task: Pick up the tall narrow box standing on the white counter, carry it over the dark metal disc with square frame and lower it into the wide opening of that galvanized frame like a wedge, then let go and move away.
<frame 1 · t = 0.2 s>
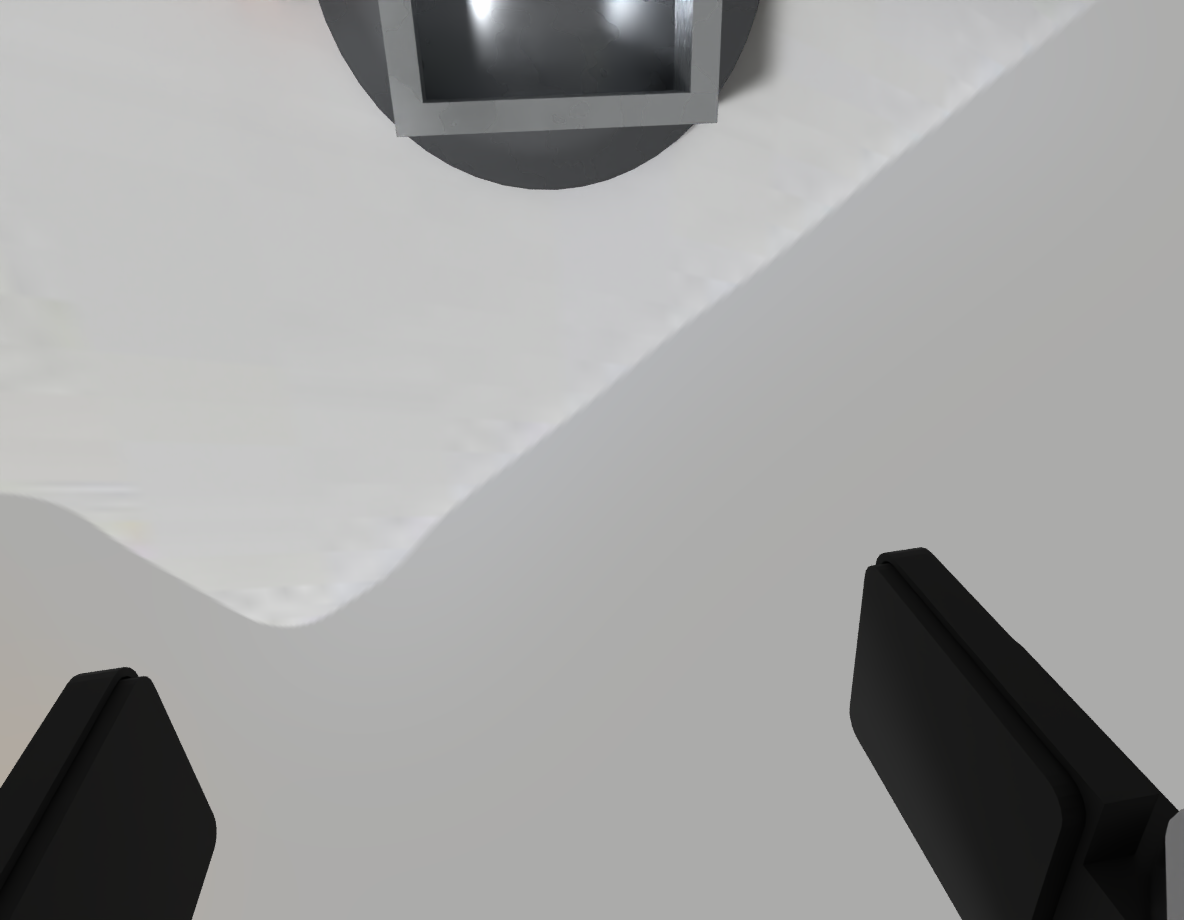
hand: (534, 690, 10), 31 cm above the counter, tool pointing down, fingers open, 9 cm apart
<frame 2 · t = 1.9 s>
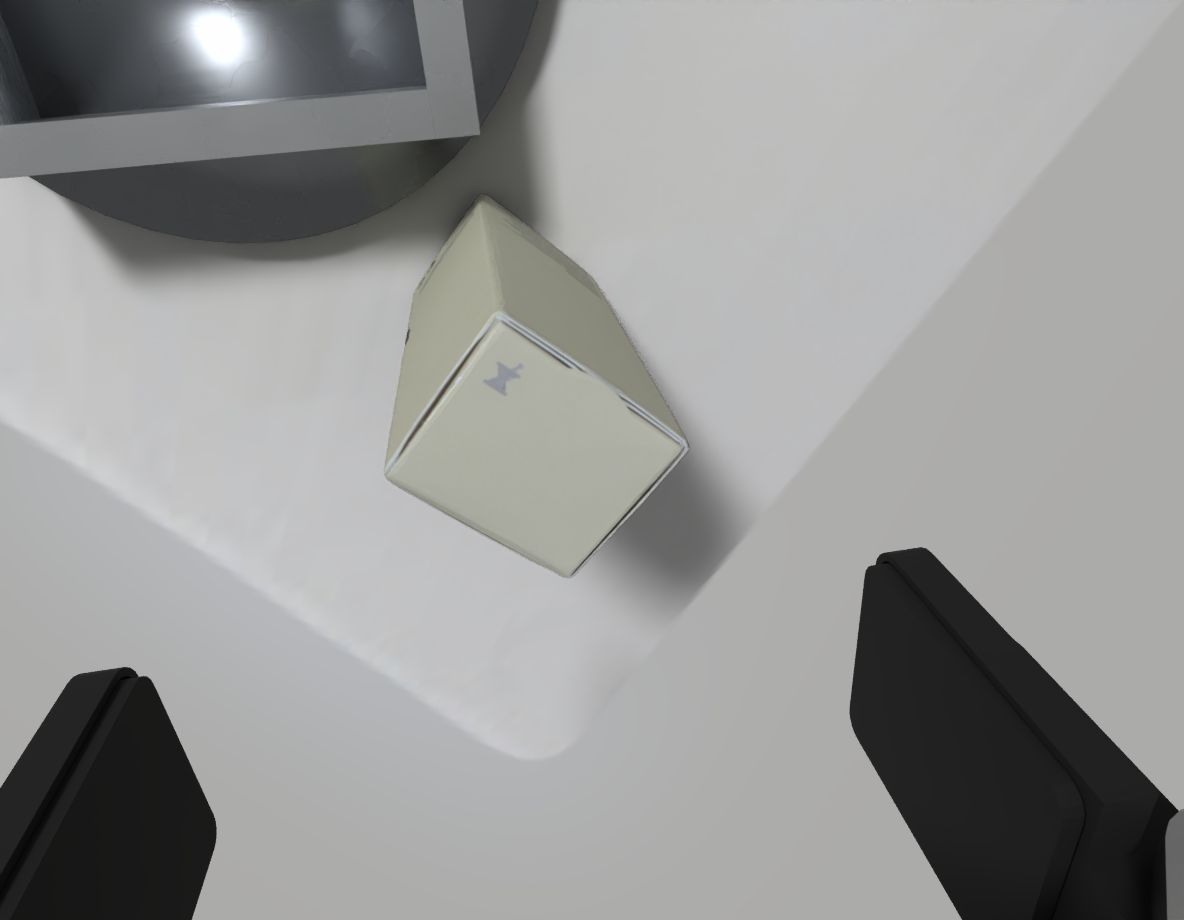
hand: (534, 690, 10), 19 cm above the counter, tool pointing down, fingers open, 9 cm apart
box: (509, 286, 27), on the counter
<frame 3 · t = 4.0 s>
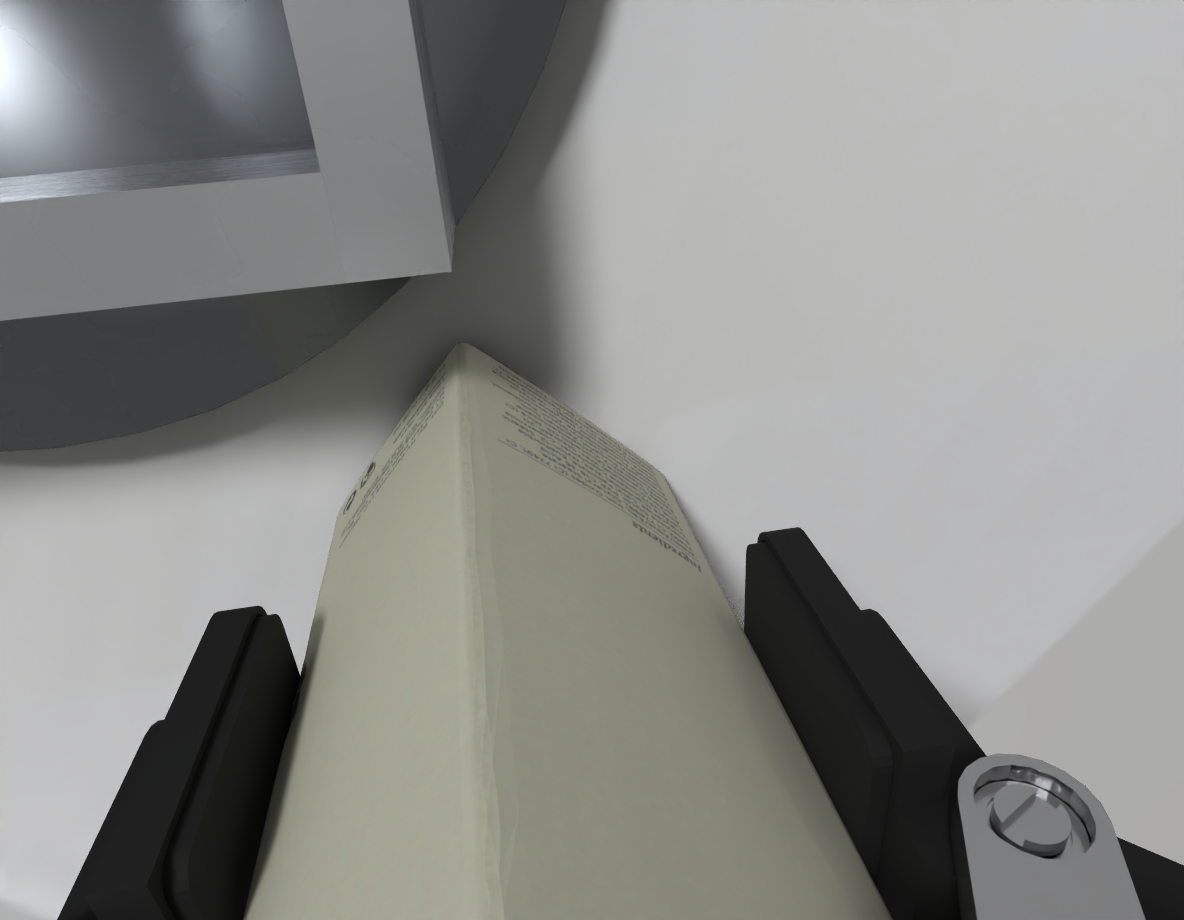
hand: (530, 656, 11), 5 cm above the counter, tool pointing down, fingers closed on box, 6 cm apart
box: (513, 487, 15), on the counter, touching gripper
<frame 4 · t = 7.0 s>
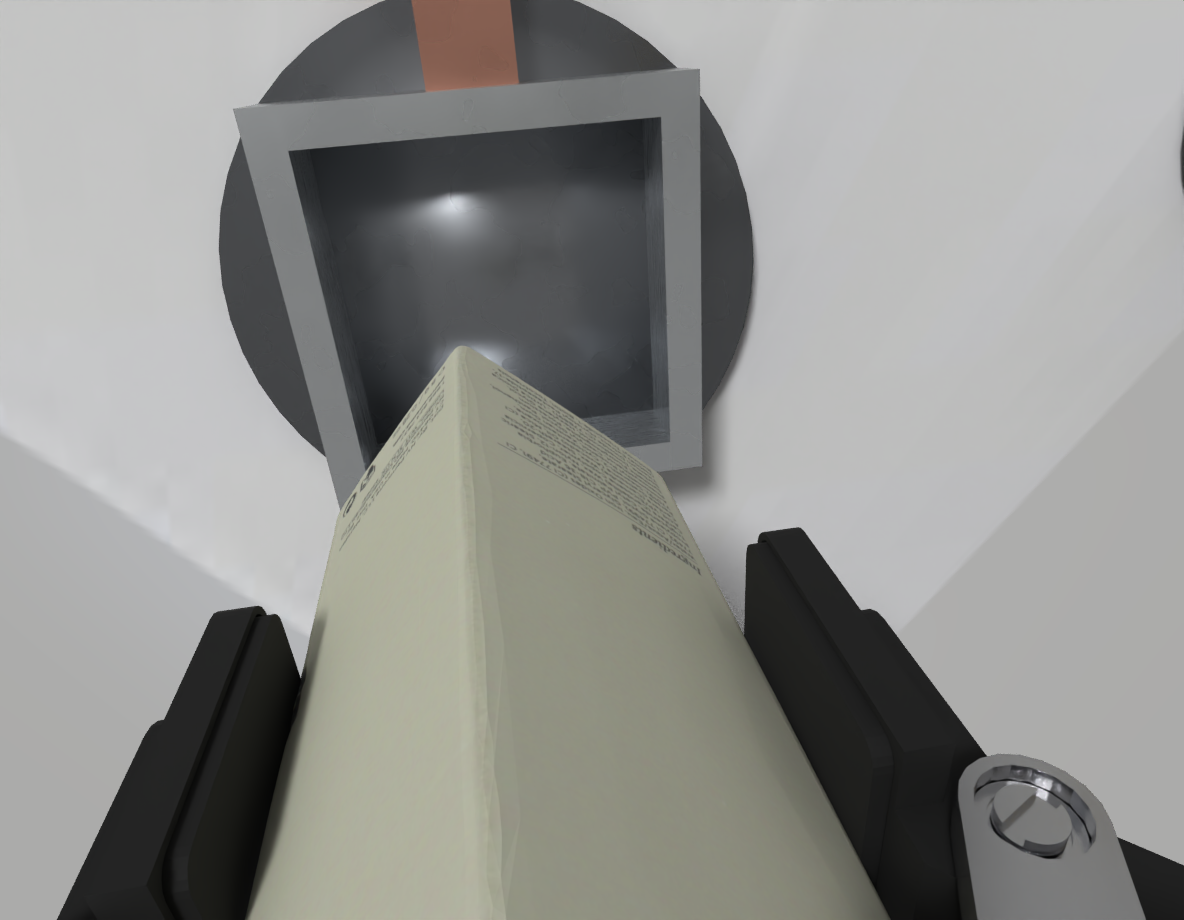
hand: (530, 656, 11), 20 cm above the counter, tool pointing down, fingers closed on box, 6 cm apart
disc with square frame: (498, 283, 29), on the counter
box: (512, 489, 15), point 16 cm above the counter, touching gripper
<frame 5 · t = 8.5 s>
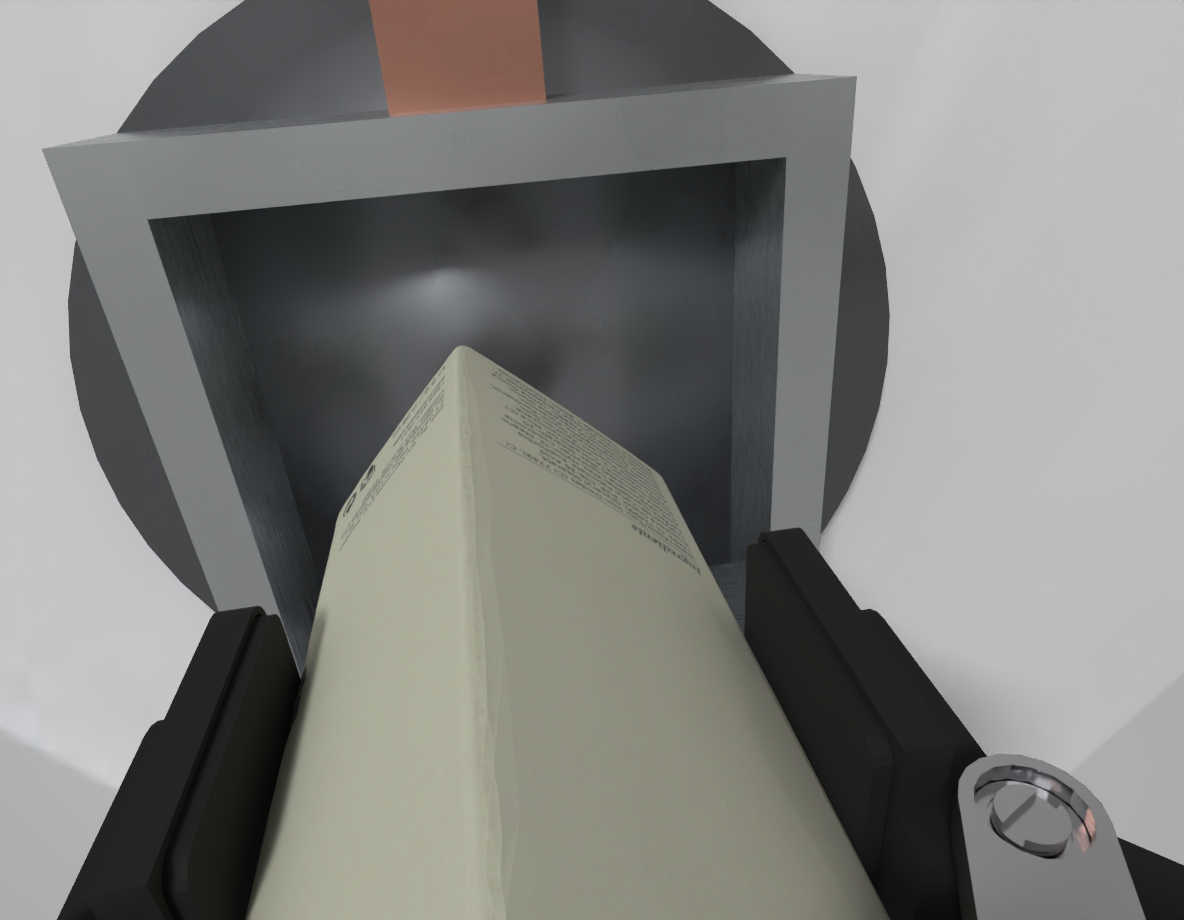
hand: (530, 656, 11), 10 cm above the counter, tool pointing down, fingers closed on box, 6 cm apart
disc with square frame: (508, 392, 19), on the counter
box: (512, 489, 15), point 5 cm above the counter, touching gripper
when the fingers open (7 cm above the counter, at t = 9.9 s): box drops 1 cm, resting on disc with square frame.
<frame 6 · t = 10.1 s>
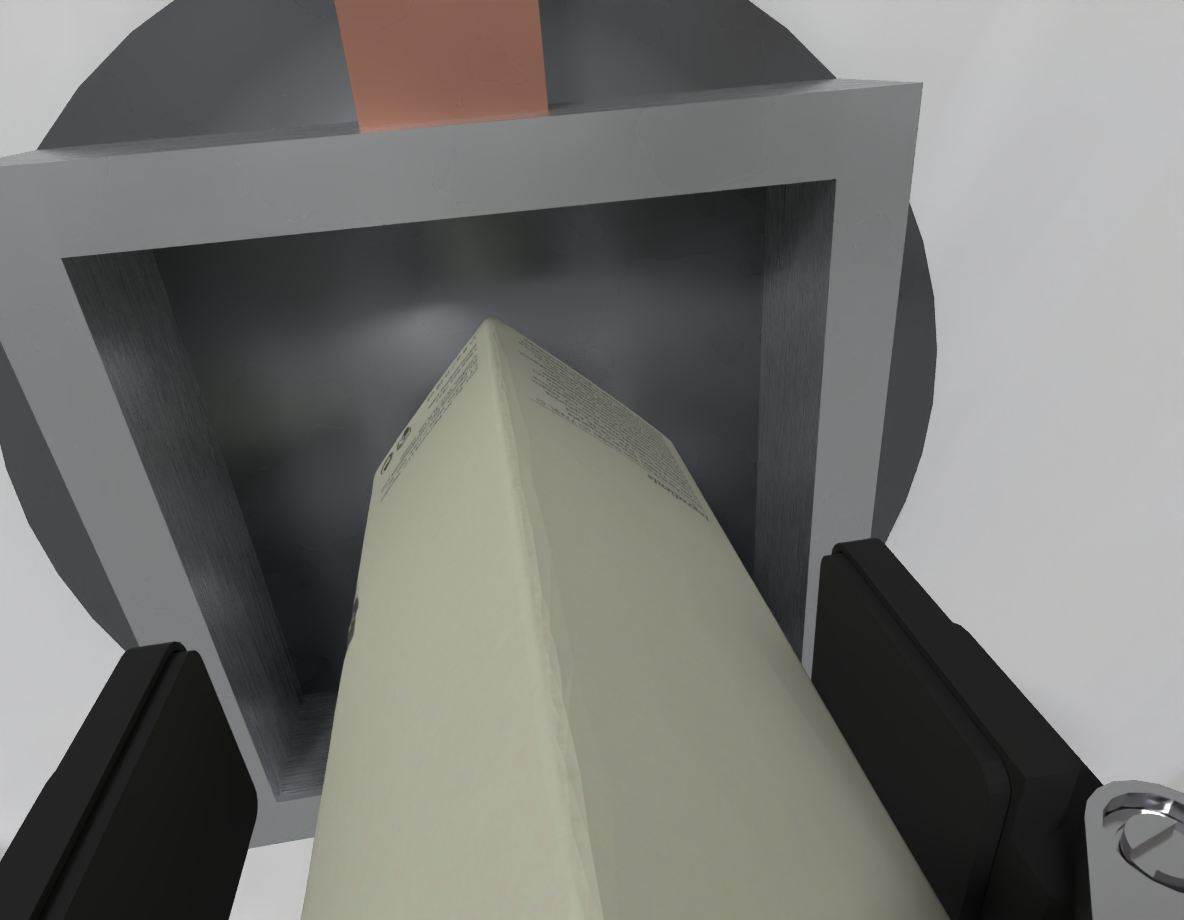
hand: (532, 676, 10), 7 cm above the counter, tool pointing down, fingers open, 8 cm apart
disc with square frame: (503, 439, 17), on the counter
box: (533, 453, 16), point 1 cm above the counter, touching disc with square frame
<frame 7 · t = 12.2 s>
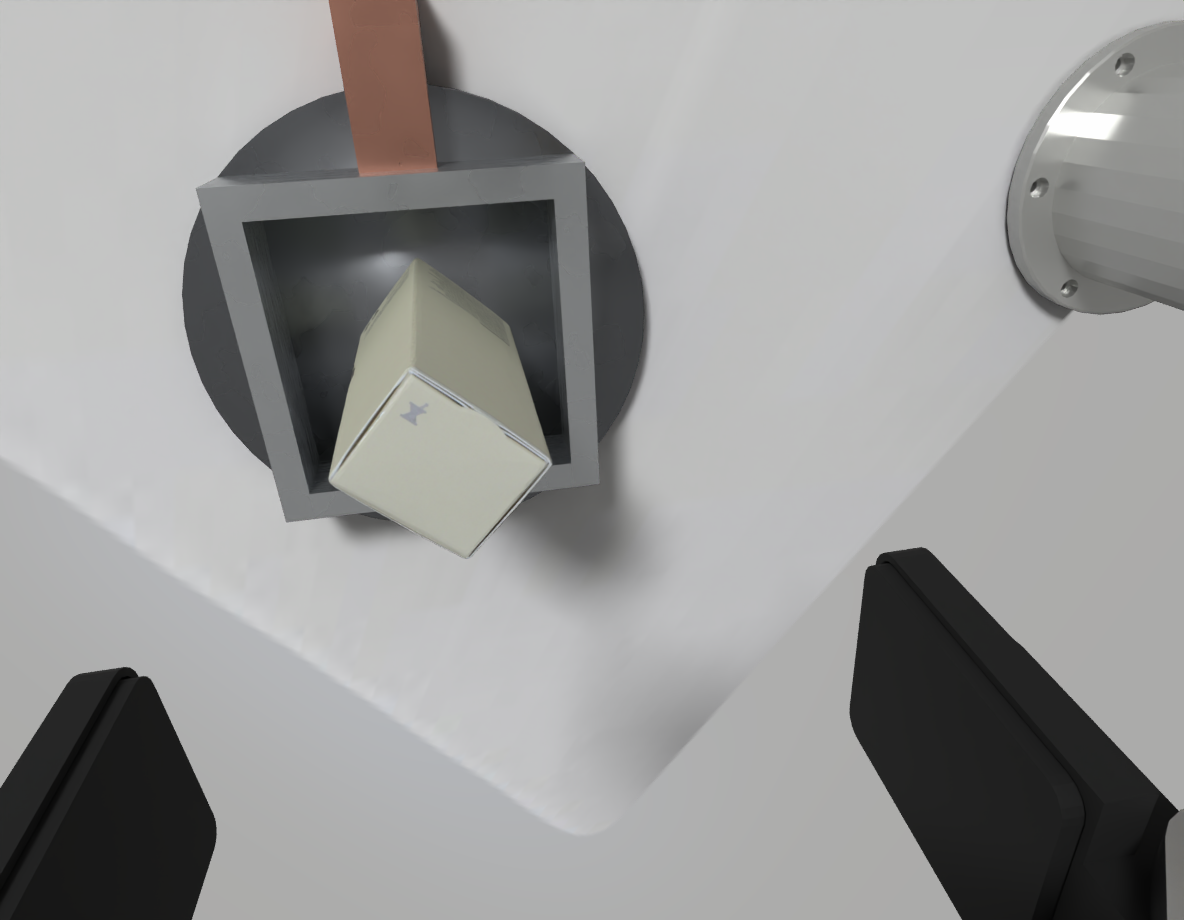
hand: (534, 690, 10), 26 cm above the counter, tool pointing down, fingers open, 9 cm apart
disc with square frame: (426, 325, 34), on the counter
box: (440, 330, 33), point 1 cm above the counter, touching disc with square frame
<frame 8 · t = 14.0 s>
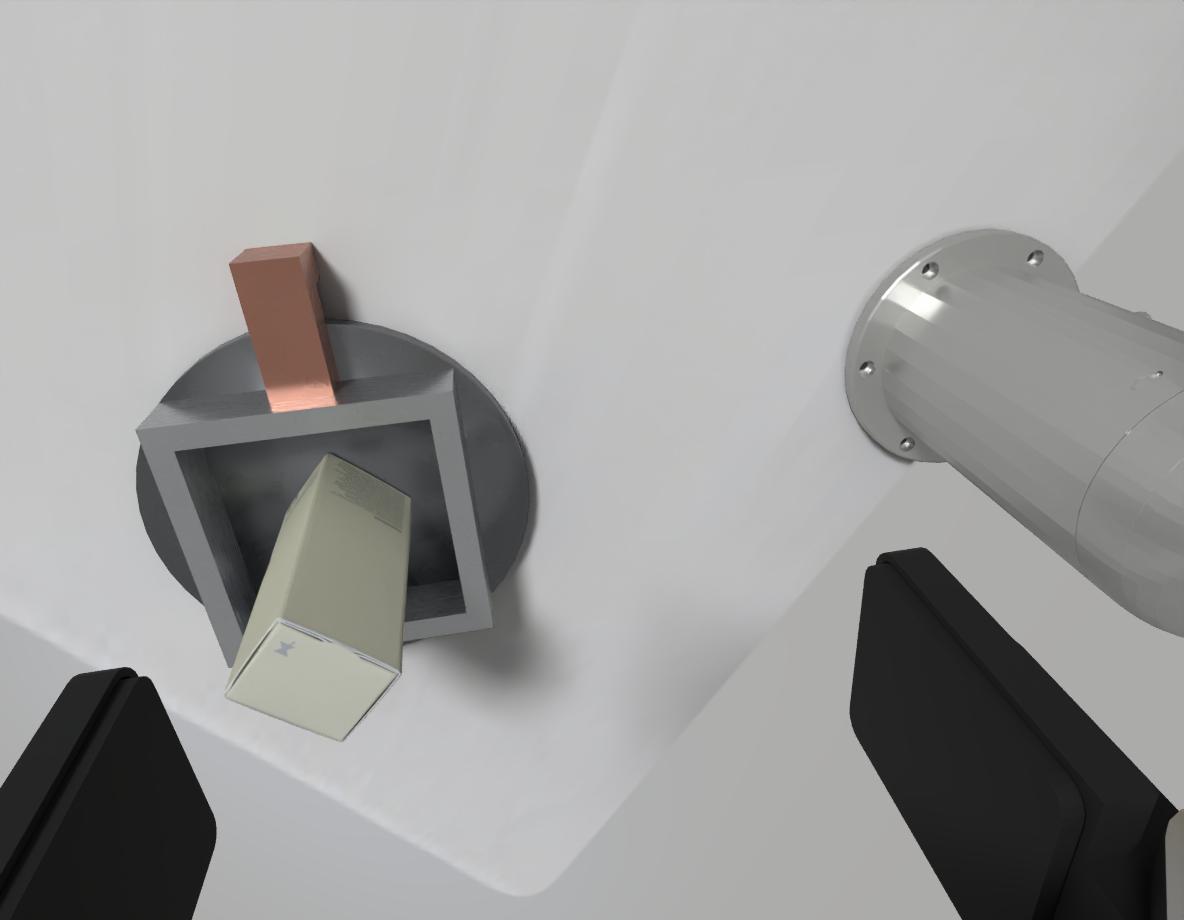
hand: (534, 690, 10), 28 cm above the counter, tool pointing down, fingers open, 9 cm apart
disc with square frame: (344, 496, 40), on the counter
box: (354, 503, 39), point 1 cm above the counter, touching disc with square frame
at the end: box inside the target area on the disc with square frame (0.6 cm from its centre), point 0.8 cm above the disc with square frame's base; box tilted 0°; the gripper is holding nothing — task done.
